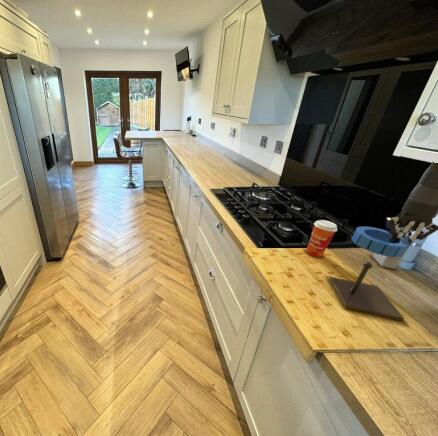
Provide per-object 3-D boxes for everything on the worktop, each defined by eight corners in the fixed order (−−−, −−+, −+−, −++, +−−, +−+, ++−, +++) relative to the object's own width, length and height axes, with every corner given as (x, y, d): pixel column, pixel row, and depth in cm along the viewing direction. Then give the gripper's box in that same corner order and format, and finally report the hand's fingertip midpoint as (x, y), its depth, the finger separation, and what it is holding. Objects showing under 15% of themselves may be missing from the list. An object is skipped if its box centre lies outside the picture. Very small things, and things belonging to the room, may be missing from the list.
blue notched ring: (388, 240, 86) (393, 230, 85) (413, 260, 75) (420, 250, 73) (345, 233, 90) (349, 223, 88) (362, 252, 78) (368, 241, 76)
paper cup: (299, 249, 100) (310, 220, 94) (312, 247, 102) (324, 218, 96) (315, 260, 93) (329, 229, 87) (329, 257, 96) (343, 227, 89)
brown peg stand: (376, 288, 80) (395, 256, 74) (402, 321, 68) (428, 286, 62) (328, 279, 83) (344, 247, 77) (345, 308, 71) (364, 273, 65)
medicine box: (395, 269, 90) (407, 250, 86) (381, 266, 91) (392, 248, 87) (384, 258, 97) (394, 240, 93) (370, 255, 98) (380, 237, 94)
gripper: (406, 200, 71) (378, 248, 79) (465, 208, 68) (430, 257, 75) (391, 193, 78) (367, 237, 85) (444, 199, 74) (414, 245, 82)
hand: (397, 246), depth 80 cm, fingers closed on blue notched ring, 2 cm apart
